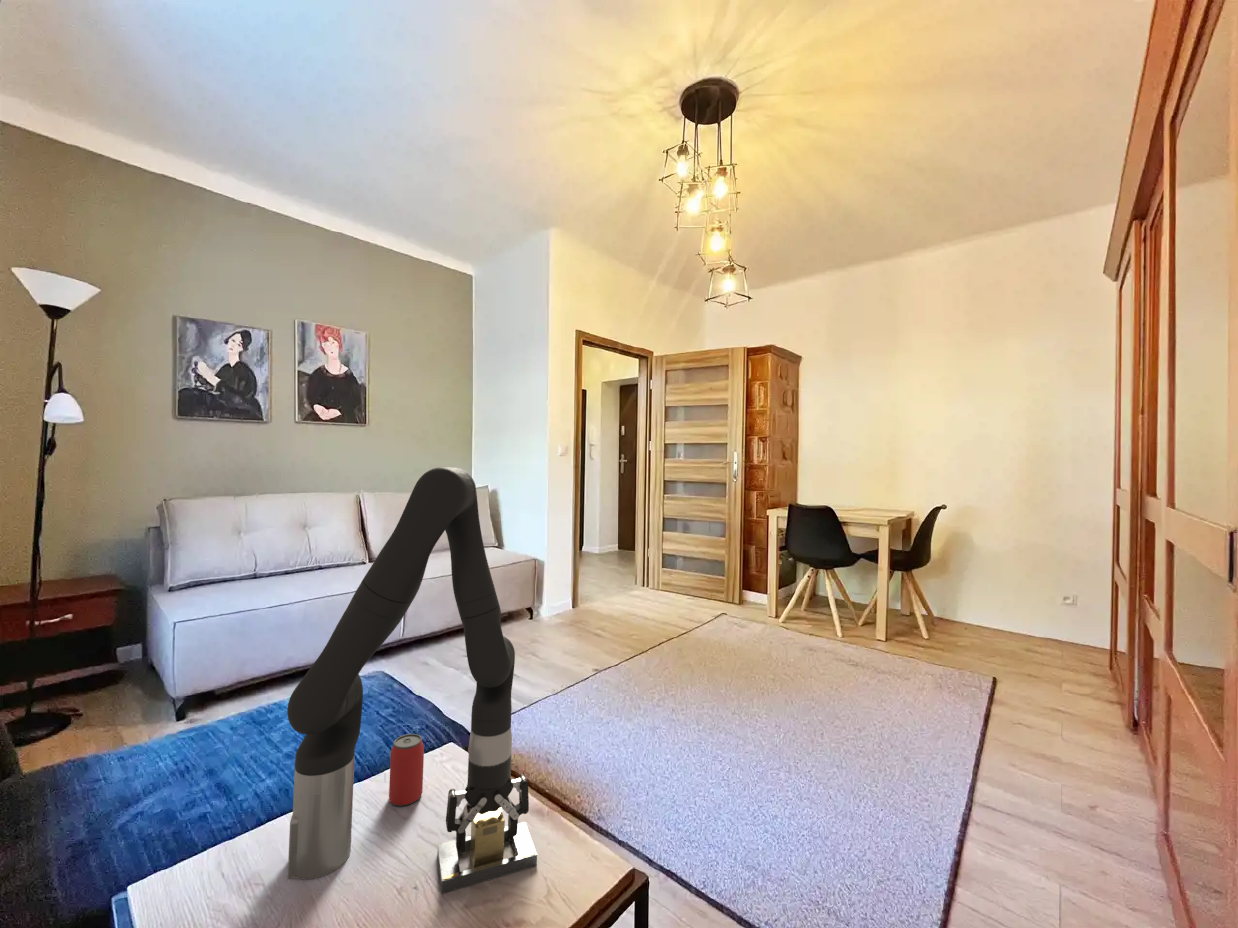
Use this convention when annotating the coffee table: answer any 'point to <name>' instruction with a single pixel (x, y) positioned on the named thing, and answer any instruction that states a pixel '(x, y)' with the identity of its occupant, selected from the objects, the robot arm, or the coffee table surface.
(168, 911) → the coffee table surface
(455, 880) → the grey rectangular frame
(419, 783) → the beer can
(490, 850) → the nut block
